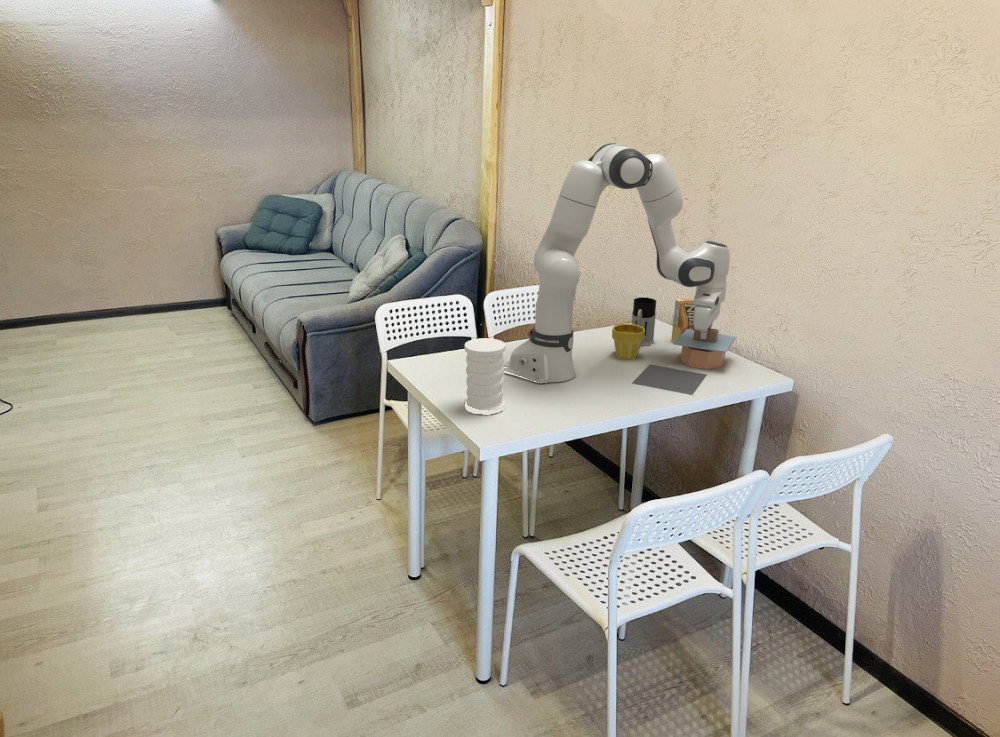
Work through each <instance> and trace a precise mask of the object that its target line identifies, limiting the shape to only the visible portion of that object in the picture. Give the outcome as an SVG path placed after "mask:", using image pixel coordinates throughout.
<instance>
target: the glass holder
mask: <svg viewBox="0 0 1000 737" xmlns="http://www.w3.org/2000/svg"><path fill="white" fill-rule="evenodd" d="M632 308H633V309H632V313H631V324H634V325H639V326H641V327H643V328H644V329H645V337H644V340H643V341H642V343H641V346H640V347H651V346H653V345H655V341H654V336H655V326H656V316H657V315H656V309H657V300H656V299H655V298H651V297H641V296H640V297H636V298H634V299H633V306H632ZM652 344H653V345H652ZM650 345H651V346H650Z"/></svg>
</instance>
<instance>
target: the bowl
mask: <svg viewBox="0 0 1000 737" xmlns="http://www.w3.org/2000/svg"><path fill="white" fill-rule="evenodd" d="M681 347H682V348H681V354H680V355H681V356H680V357H681V358H680V361H681V362H683V363H685V365H687V366H689V367H692V368H698V369H704V370H708V369H720V368H722V366H723V365H724V363H725V360H726V353H722V352H716V351H710V350H704V349H698V348H692V347H686V346H681Z"/></svg>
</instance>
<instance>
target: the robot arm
mask: <svg viewBox="0 0 1000 737" xmlns="http://www.w3.org/2000/svg"><path fill="white" fill-rule="evenodd" d="M608 186H612V187H616V188H619V189H621V190H633V189H635V188H636V190H637V192H638V195H639V198H640V200H641V203H642V206H643V208H644V211H645V213H646V218H647V221H648V225H649V230H650V233H651V236H652V239H653V243H654V247H655V249H656V269H657V272H658V274H659V275H660V276H661V277H662V278H664V279H665V280H669V281H673V282H674V283H676V284H678V285H681V286H683V287H685V288H694V287H695V288H696V289H695V294H694V297H693V298H694V301H693V304H694V305H695V309H694V329H695V330H700V331H701V337H700V338H701V339H706V338H707V334H708V333H707V330H708V328H711V329H713V328H712V327H713V323H714V321H715V320H716V319H717V318H718V317H719V316H720V314H721V313H720V312H721V305H722V303H723V302H725V299H726V293H727V286H728V285H727V277H728V274H729V271H730V270H729V269H730V248H729V247H728V246H727V245H726V244H723V243H722V242H717V241H713V240H707V241H704V242H703V244H702V245H700V246H699V247H698V248H697V249H694V250H693V251H690V252H687V251H685V250H684V249H682V248H681V247H680V246H679V244H678V243H677V240H676V237H675V233H674V230H673V226H672V220H673V219H675V218H676V217H677V216H678V215H679V214H680V213H681V211H682V208H683V205H684V201H683V196H682V192H681V188H680V186H679V183H678V180H677V177H676V175H675V173H674V170H672V167H671V165H670V164H669V162H668V160H667V159H666V157H665V156H664V155H663V154H659V153H650V154H646V155H644V154H643V153H642V152H640V151H639V150H637V149H634V148H631V147H630V146H628V145H625V144H621V143H614V142H613V143H612V142H611V143H610V142H609V143H607V144H606V143H605V144H604V145H602V146H600V147H599V148H598V149H597V150H596V151H595V152H594V153H593V155H592V156H591V157H590V158H588V160H585V159H583V160H578V161H576V162H574V163H573V165H571V167H570V169H569V171H568V173H567V175H566V177H565V178H564V181H563V183H562V186H561V188H560V191H559V194H558V198H557V200H556V204H555V207H554V210H553V213H552V215H551V219H550V221H549V223H548V226H547V227H546V230H545V232H544V234H543V236H542V237H541V240H540V243H539V245H538V247H537V249H536V250H535V253H534V256H533V267H534V271H535V272H536V274H538V279H539V285H538V286H539V287H538V293H537V299H536V303H535V315H534V316H535V318H534V322H535V323H534V326H533V328H531V329H530V330H528V332H527V333H526V336H527V337H529V339H528V340H527V339H526V341H524V342H523V343H521V344H520V345H518V346H517V347H516V348H515V349H513V351H512V352H511V354H510V358H509V361H507V362H506V363H505V364H504V365H503V369H504V371H507V372H510V373H513V374H515V375H518V376H522V377H524V378H527V379H529V380H532V381H536V382H539V383H545V384H547V383H546V382H550V383H561V382H562V383H563V382H567V381H569V380H572V379H573V378H575V377H576V371H575V367H574V361H573V360H574V359H573V347H574V329H573V314H574V303H575V298H576V294H577V293H576V292H577V289H578V283H579V280H580V277H581V276H580V275H581V274H580V273H581V272H580V271H581V270H580V265H579V262H578V261H577V259H576V258H575V254H576V253H577V251H578V249H579V247H580V245H581V243H582V241H583V240H584V238H585V237H586V236H587V235H588V233H589V230H590V227H591V223H592V221H593V218H594V215H595V212H596V209H597V207H598V204H599V199H600V196H601V195H602V193H603V191H604V190H605V189H606V188H607V187H608ZM504 367H507V368H504Z"/></svg>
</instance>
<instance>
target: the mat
mask: <svg viewBox="0 0 1000 737" xmlns="http://www.w3.org/2000/svg"><path fill="white" fill-rule="evenodd" d="M707 376H708V374H705V373H701V372H695V371H689V370H685V369H684V370H683V369H678V368H673V367H668V366H661V365H657V364H656V365H655V364H648V365H647V367H646V368H645V369H643V371H642V372H641V373H639V375H638V376H637V377H636V378H635V379H634V380H633V381H632V382H631V384H633V385H638V386H642V387H649V388H653V389H659V390H663V391H669V392H673V393H680V394H685V395H690V396H694V394H695V392H696V391H697V389H698V388H699V387H700V385H701V384H702V383H703V381H704V380H705V378H706V377H707Z"/></svg>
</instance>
